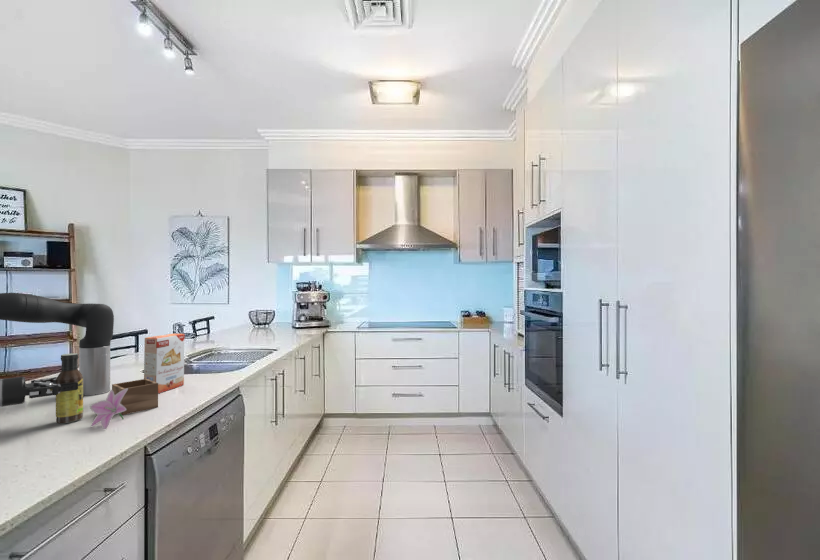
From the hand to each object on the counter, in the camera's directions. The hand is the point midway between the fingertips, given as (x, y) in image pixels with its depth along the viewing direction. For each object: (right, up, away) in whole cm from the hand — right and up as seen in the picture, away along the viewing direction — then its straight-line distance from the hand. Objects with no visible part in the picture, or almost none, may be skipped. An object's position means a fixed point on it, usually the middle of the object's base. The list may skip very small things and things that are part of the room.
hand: (77, 382), depth 122 cm
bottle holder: (+10, -11, +11) cm, 18 cm away
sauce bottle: (-1, -11, -1) cm, 11 cm away
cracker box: (+6, -11, +34) cm, 36 cm away
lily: (+12, -11, -4) cm, 17 cm away
